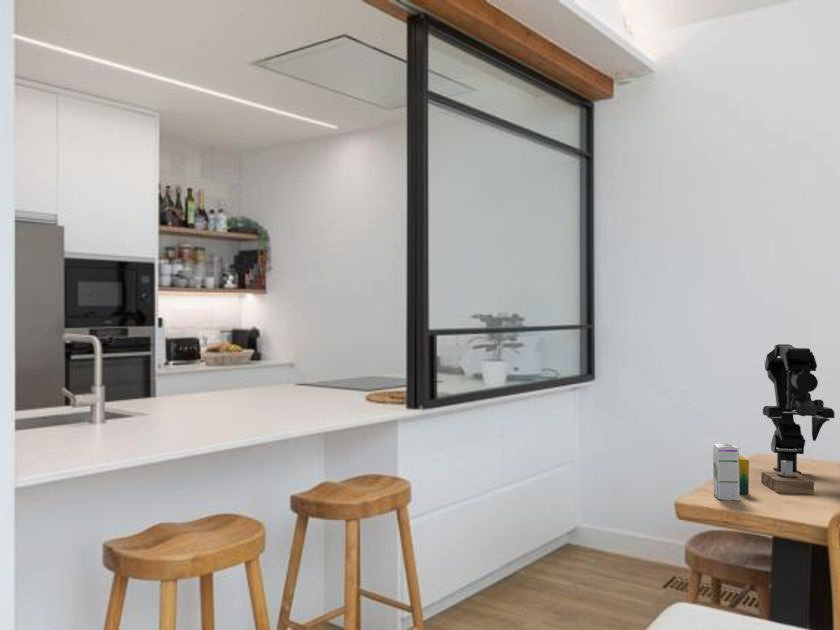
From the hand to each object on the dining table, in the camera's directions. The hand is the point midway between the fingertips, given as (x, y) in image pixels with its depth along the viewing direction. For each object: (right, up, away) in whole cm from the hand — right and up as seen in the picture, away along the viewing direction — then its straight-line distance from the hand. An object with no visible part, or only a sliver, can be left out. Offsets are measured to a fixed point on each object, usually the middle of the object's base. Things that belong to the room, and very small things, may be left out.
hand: (798, 440), depth 212 cm
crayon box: (-24, -13, -13) cm, 30 cm away
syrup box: (-31, -12, -20) cm, 39 cm away
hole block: (-8, -12, -9) cm, 17 cm away
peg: (-8, -12, -9) cm, 17 cm away
